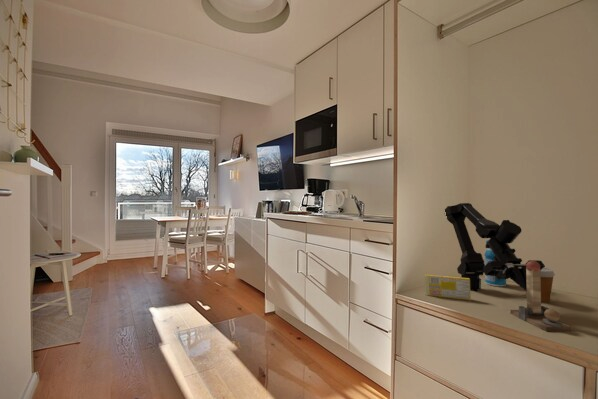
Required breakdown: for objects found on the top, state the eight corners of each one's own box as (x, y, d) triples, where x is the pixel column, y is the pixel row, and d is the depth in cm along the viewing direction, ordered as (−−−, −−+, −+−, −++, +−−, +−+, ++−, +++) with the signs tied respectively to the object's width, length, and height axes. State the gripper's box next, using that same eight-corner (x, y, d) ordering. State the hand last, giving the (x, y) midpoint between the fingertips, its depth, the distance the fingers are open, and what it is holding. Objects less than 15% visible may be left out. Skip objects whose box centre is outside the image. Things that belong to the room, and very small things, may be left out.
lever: (522, 312, 94) (521, 259, 95) (535, 312, 95) (535, 259, 95) (531, 317, 91) (531, 262, 91) (545, 316, 91) (544, 262, 91)
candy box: (470, 299, 113) (469, 277, 113) (470, 300, 111) (470, 279, 111) (425, 293, 120) (424, 273, 120) (425, 295, 118) (424, 275, 118)
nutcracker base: (510, 313, 98) (509, 296, 98) (533, 313, 98) (532, 296, 98) (545, 331, 84) (545, 312, 84) (572, 330, 84) (572, 311, 84)
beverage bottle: (482, 284, 132) (481, 240, 132) (487, 280, 138) (486, 239, 138) (504, 288, 126) (503, 242, 126) (508, 284, 132) (508, 240, 132)
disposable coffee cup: (561, 305, 105) (561, 272, 105) (532, 303, 107) (531, 271, 107) (545, 296, 114) (544, 266, 114) (518, 295, 116) (517, 265, 116)
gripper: (515, 262, 112) (540, 300, 101) (468, 263, 112) (488, 301, 101) (531, 245, 105) (560, 284, 93) (481, 246, 104) (504, 285, 93)
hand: (527, 289), depth 95 cm, fingers closed
